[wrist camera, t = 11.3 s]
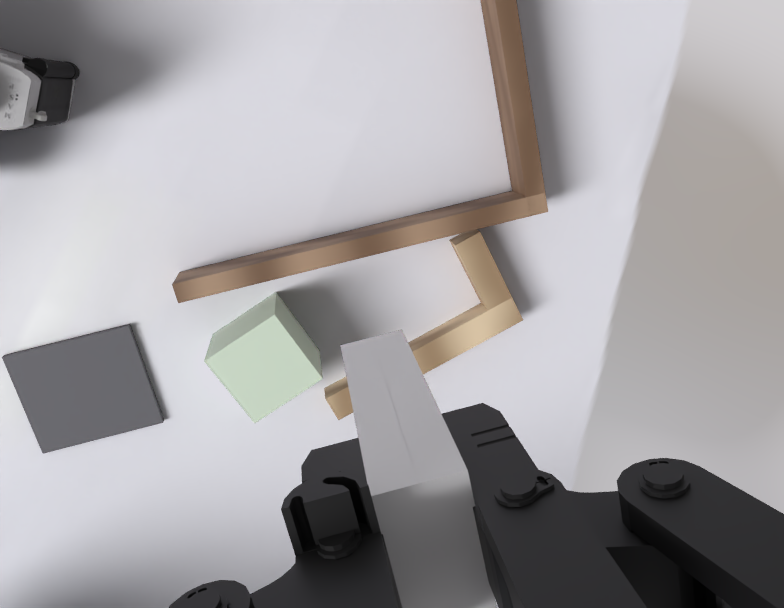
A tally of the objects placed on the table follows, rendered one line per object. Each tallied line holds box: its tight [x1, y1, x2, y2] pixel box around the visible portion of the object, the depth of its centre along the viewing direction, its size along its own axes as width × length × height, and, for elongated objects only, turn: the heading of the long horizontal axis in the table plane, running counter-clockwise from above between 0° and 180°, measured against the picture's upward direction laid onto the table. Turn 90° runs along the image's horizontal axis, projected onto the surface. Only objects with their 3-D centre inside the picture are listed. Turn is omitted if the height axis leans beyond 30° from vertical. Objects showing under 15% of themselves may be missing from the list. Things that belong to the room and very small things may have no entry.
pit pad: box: [2, 324, 164, 453], centre depth 46 cm, size 8×7×1 cm
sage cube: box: [204, 292, 323, 423], centre depth 45 cm, size 5×5×5 cm
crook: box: [324, 229, 523, 420], centre depth 47 cm, size 14×7×2 cm, turn 118°
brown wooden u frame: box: [172, 0, 548, 303], centre depth 41 cm, size 23×22×3 cm
